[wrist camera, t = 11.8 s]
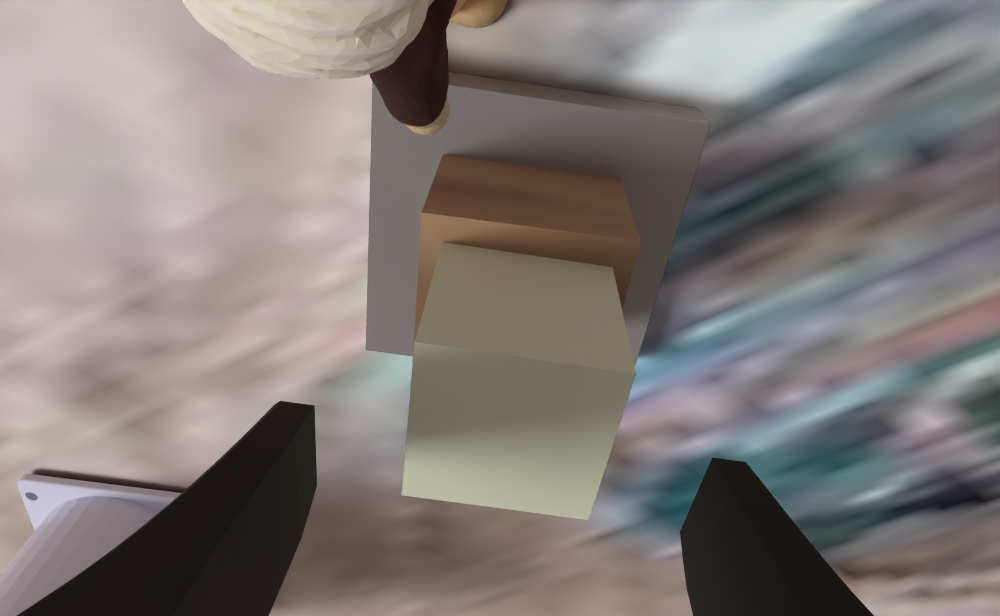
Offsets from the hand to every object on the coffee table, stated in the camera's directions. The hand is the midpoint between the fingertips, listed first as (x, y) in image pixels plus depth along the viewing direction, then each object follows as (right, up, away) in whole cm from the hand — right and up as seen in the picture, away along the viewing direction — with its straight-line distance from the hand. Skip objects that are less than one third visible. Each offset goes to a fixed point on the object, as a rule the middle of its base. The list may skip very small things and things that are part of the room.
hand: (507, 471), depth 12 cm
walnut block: (0, +5, +7) cm, 9 cm away
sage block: (0, +3, +4) cm, 5 cm away
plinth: (0, +6, +9) cm, 10 cm away
